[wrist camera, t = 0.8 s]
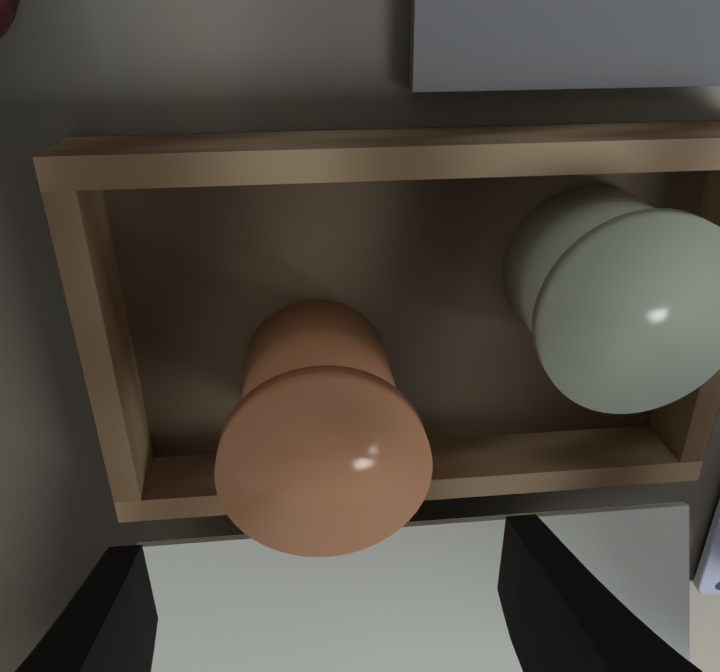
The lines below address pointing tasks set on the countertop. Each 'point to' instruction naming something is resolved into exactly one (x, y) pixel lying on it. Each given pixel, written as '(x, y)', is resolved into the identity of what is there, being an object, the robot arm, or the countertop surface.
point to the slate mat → (563, 44)
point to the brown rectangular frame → (352, 291)
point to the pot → (321, 437)
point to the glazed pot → (617, 297)
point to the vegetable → (7, 14)
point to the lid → (399, 594)
